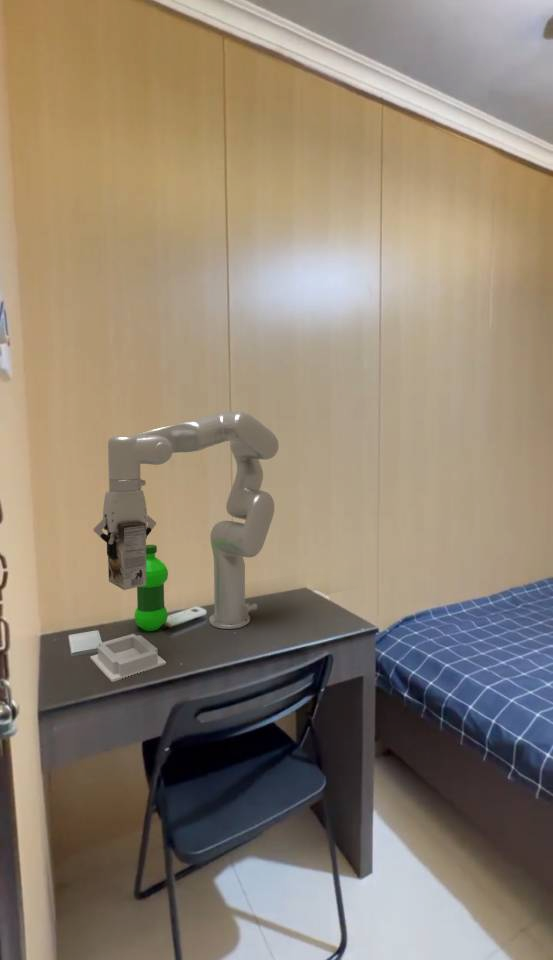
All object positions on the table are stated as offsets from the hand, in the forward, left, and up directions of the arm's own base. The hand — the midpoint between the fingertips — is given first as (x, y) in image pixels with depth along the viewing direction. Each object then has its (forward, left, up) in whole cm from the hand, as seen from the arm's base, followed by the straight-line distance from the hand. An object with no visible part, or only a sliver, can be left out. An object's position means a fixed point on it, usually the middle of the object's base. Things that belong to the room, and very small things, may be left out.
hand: (126, 555), depth 122 cm
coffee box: (0, 0, -7) cm, 7 cm away
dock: (0, 0, -28) cm, 28 cm away
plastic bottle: (-14, -16, -28) cm, 35 cm away
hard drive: (+6, -17, -29) cm, 34 cm away
